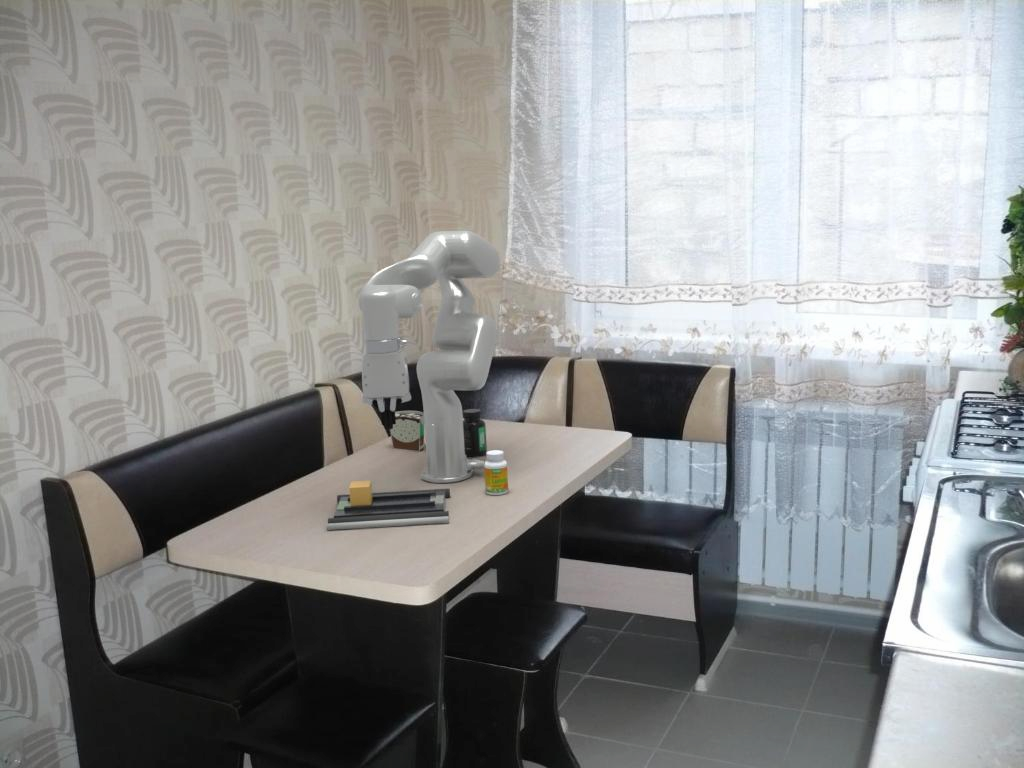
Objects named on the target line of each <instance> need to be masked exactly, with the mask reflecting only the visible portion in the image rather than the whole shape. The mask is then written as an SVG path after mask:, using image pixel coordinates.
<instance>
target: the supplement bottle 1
mask: <svg viewBox="0 0 1024 768" xmlns="http://www.w3.org/2000/svg"><path fill="white" fill-rule="evenodd" d="M462 414H463V431H464V448H465V455H466V457H467V458H481V457H484V456H485V455H486V453H487V452H488V443H487V430H486V429H487V425H486V422H485V420H484V419H482V415H483V414H482V410H481V409H480V408H468V409H464V410H462Z"/></svg>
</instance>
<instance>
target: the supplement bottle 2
mask: <svg viewBox="0 0 1024 768" xmlns="http://www.w3.org/2000/svg"><path fill="white" fill-rule="evenodd" d="M504 455H505V454H504V451H503V450H500V449H499V450H498V449H493V450H487V453H486V456H485V457H486V459H487V460H485V462H483V463H484V468H483V469H484V471H483V472H484V486H485V487H484V488H485V489H484V490H485V494H486V495H489V496H490V495H491V496H503V495H505V494H507V493H508V492H509V478H508V462H507V461H506V460H505V459H504V457H505V456H504Z"/></svg>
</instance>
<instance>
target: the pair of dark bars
mask: <svg viewBox="0 0 1024 768" xmlns="http://www.w3.org/2000/svg"><path fill="white" fill-rule="evenodd" d="M450 489H451V488H449V487H448V488H436V489H435V488H433V489H421V490H403V491H402V490H400V491H385V492H372V495H383V494H400V493H417V492H433V491H445V496H446V498H451V491H450ZM336 496H337V497H336V498H337V499H336V502H337V505H338V504H339V501H340V498H341V497H350V493H349V494H337V495H336ZM449 523H450V513H449V510H445V511H439V512H423V513H406V514H390V515H373V516H357V517H340V518H334V517H328V518H327V523H326V530H327V531H336V530H352V529H353V530H354V529H355V530H356V529H369V528H382V527H383V528H386V527H398V526H400V527H401V526H417V525H418V526H419V525H433V524H434V525H435V524H449Z"/></svg>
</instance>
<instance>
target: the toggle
mask: <svg viewBox="0 0 1024 768" xmlns="http://www.w3.org/2000/svg"><path fill="white" fill-rule="evenodd" d="M348 491H349V494H350V504H351V506H359V505H371V503H372V500H373V498H372V493H373V487H372V480H359V481H358V480H357V481H355V480H354V481H351V482H350V485H349V487H348Z"/></svg>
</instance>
